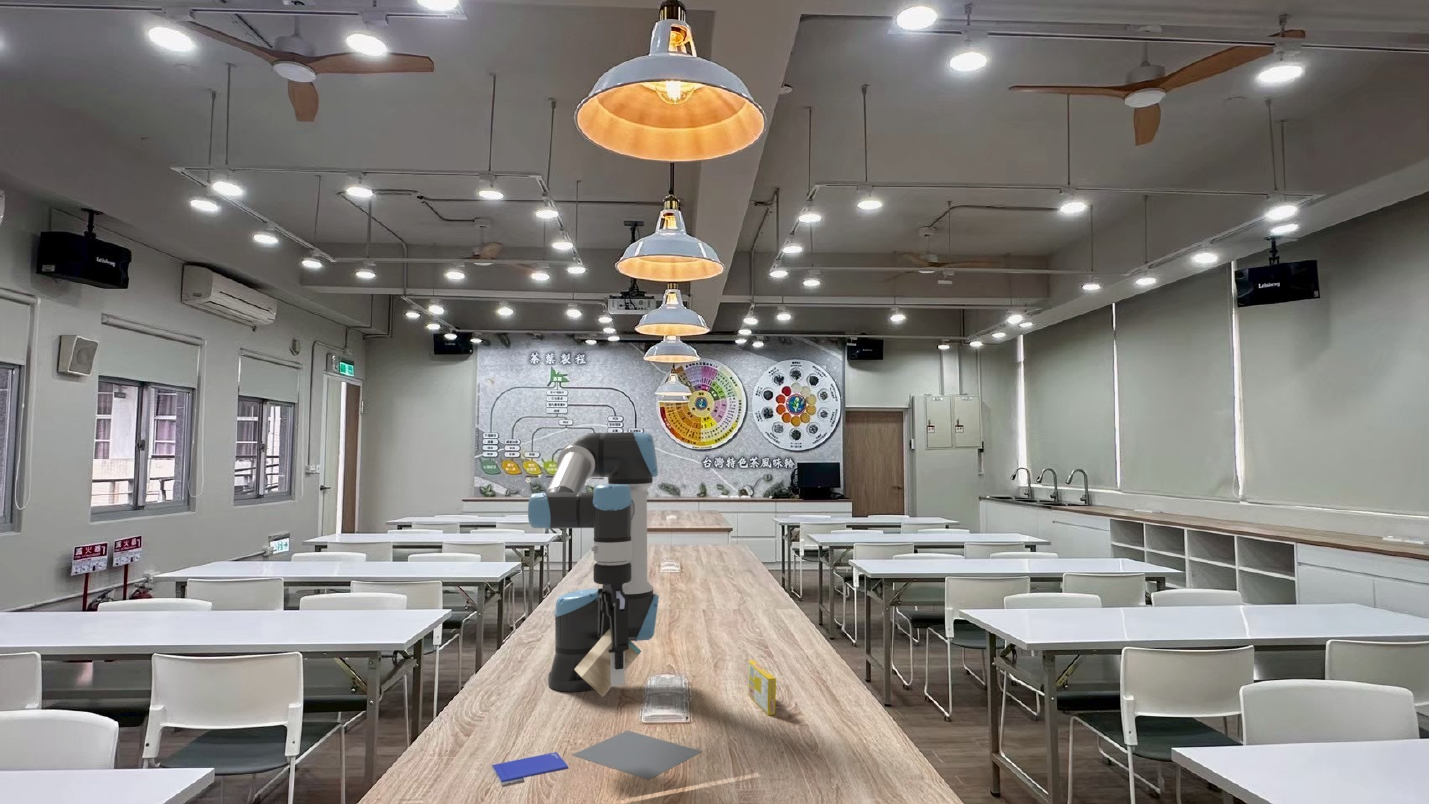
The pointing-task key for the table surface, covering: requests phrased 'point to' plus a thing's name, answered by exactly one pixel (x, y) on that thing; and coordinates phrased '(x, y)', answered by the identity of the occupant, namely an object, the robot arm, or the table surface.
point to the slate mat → (637, 754)
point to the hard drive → (528, 767)
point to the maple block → (602, 663)
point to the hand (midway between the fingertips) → (612, 680)
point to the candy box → (762, 687)
